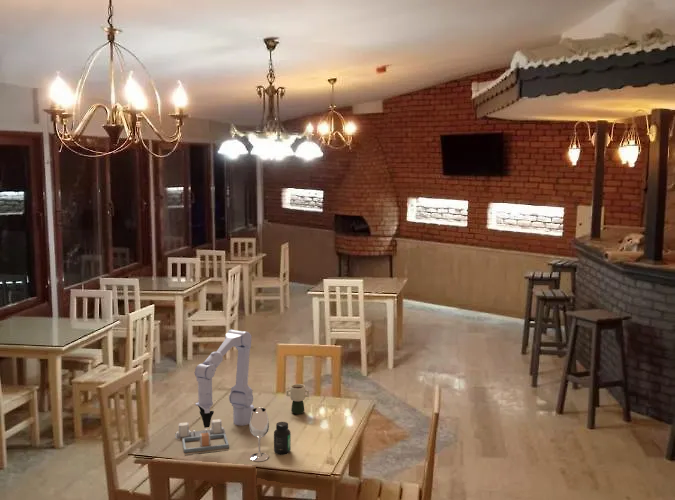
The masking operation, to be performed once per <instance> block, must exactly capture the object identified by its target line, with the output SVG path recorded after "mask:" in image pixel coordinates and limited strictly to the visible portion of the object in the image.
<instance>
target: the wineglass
mask: <svg viewBox="0 0 675 500" xmlns="http://www.w3.org/2000/svg"><path fill="white" fill-rule="evenodd" d="M248 425H249V427H248V428H249V432H250V434H251V435H252V436H253V437H254V438H257V441H258V442H257V443H258V452H257V453H252V454H251V455H250V456H249V459H250V460H251V461H252V462H264V461H267V460H269V458H270V456H269V454H267V453H264V452H261V439H262V438H263V437H264V436H266V435H267V434H268V432H269V430H270V423H269V417H268V412H267V408H264V407H260V406H259V407H254V409H252V413H251V418H250V424H248Z"/></svg>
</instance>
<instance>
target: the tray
mask: <svg viewBox="0 0 675 500" xmlns="http://www.w3.org/2000/svg"><path fill="white" fill-rule="evenodd" d="M220 438H221V439H223V440H224V444H223V443H222V444H217V445H215V444H214V445H209V446H198V447H197V446H196V447H186V442H195V441H200V436H197V437H187V438H181V439H182V441H181V442H182V448H183V454H185V453H187V454H186V456H193V455H194V452H199V453H195V455H200V454H201V455H202V454H203V452H204V454H209V453H210V454H211V453H212V450H213V453H218V452H219V453H220V452H221V449H225V450H222V452H226V451H227V452H228V451H229V448H230V445H229V441H228V438H227V434H216V435H210V440H212V439H220ZM214 450H216V451H214ZM217 450H218V451H217ZM205 451H206V452H205ZM207 451H208V452H207Z"/></svg>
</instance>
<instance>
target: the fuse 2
mask: <svg viewBox="0 0 675 500" xmlns="http://www.w3.org/2000/svg"><path fill="white" fill-rule="evenodd" d="M222 424H223V423H222V419H221V418H218V419H211V430H212V434H215V433H222V427H223V426H222Z"/></svg>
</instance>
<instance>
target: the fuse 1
mask: <svg viewBox="0 0 675 500" xmlns="http://www.w3.org/2000/svg"><path fill="white" fill-rule="evenodd" d="M189 427H190V425H189V421H188V422H178V433H179V437H186V436H189V430H190V429H189Z"/></svg>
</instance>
